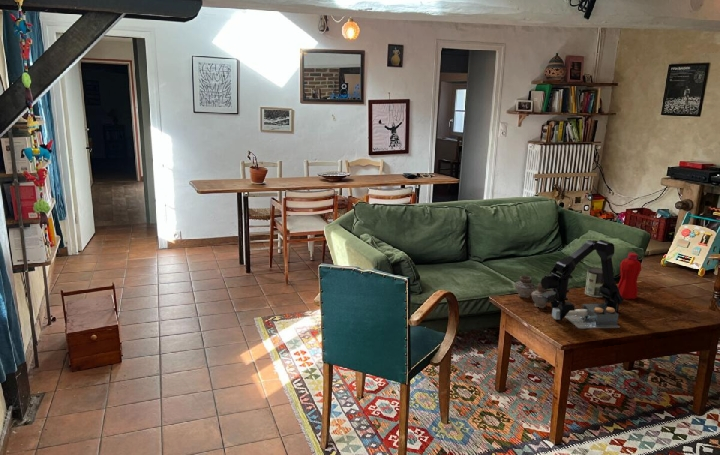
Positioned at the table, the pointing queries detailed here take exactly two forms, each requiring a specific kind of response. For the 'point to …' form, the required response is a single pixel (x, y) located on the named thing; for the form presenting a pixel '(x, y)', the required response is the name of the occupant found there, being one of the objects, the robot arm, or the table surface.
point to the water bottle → (629, 276)
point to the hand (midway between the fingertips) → (557, 316)
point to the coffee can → (594, 282)
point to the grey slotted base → (595, 318)
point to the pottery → (531, 291)
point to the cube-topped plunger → (570, 313)
